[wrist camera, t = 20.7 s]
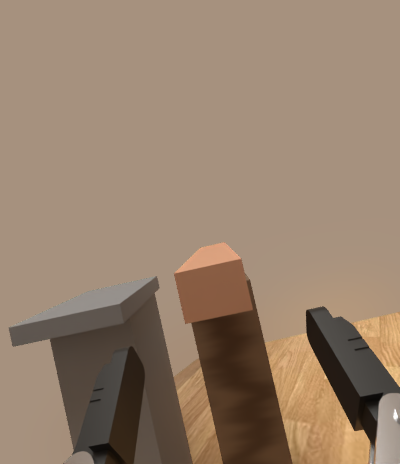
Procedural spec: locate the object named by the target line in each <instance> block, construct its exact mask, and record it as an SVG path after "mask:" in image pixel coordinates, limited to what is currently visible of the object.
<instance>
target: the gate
mask: <svg viewBox="0 0 400 464" xmlns="http://www.w3.org/2000/svg"><path fill="white" fill-rule="evenodd" d="M245 277H246V281H247V286H248V290H249V294H250V299H251V303H252V307H253V310H250V311H245V312H240V313H236V314H231V315H226V316H221V317H216V318H212V319H207V320H202V321H197V322H192V327H193V332H194V336H195V341H196V345H197V350H198V354H199V359H200V363H201V367H202V372H203V376H204V381H205V385H206V389H207V394H208V398H209V403H210V407H211V412H212V416H213V420H214V425H215V429H216V434H217V438H218V443H219V447H220V451H221V456H222V460H223V464H292V459H291V455H290V451H289V446H288V442H287V438H286V433H285V429H284V425H283V421H282V416H281V412H280V408H279V403H278V399H277V395H276V390H275V386H274V382H273V377H272V373H271V369H270V364H269V360H268V356H267V351H266V347H265V343H264V338H263V334H262V330H261V325H260V321H259V317H258V313H257V309H256V304H255V300H254V295H253V291H252V287H251V283H250V279H249V278H248V277H247V275H246V274H245Z"/></svg>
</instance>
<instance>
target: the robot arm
mask: <svg viewBox="0 0 400 464" xmlns="http://www.w3.org/2000/svg"><path fill="white" fill-rule="evenodd" d="M306 327H307V337H308V340H309V343H310V345H311V347H312V349H313V351H314V353H315V355H316V357H317V359H318V361H319V363H320V365H321V367H322V369H323V371H324V373H325V374H326V376H327V378H328V380H329V382H330V384H331V386H332V388H333V390H334V392H335V394H336V396H337V398H338V400H339V402H340V404H341V406H342V407H343V409H344V411H345V413H346V415H347V417H348V419H349V421H350V423H351V425H352V427H353V429H354V431H358V430H364V431H365V433H366V434H367V436H368V438H369V440H370V449H369V462H368V464H400V387H399V386H398V385H397V383H396V382H395V381H394V379H393V378H392V377H391V375H390V374H389V373H388V371H387V370H386V369H385V367H384V366H383V364H382V363H381V362H380V360H379V359H378V358H377V356H376V355H375V354H374V352H373V351H372V350H371V349H370V348H369V346H368V344H367V343H366V342H365V340H364V339H362V336H361V335H360V334H359V332H358V331H357V330H356V328H355V327H354V326H353V325H352V324H351V323H349V322H348V321H347V320H345V319H343V318H342V317H336V318H333V317H332V316H331V314H330V313H329V311H328V310H327V309H326V308H325V307H318V308H314V309H309V310H307V311H306ZM144 383H145V370H144V366H143V364H142V362H141V360H140V358H139V356H138V355H137V353H136V351H135V349H134V348H133V347H132V346H129V347H124V348H120V349H116V350H115V351H114V352H113V355H112V359H111V363H110V364H105V365H104V366H103V368H102V370H101V371H100V373H99V374H98V376H97V378H96V381H95V385H94V388H93V393H92V394H91V398H90V403H89V404H88V408H87V411H86V414H85V417H84V421H83V424H82V427H81V431H80V434H79V437H78V440H77V444H76V447H75V449H74V452H73V454H72V456H70V457H69V458H68V459H67V460H66V461H65V462H64V463H63V464H134V458H135V451H136V443H137V436H138V428H139V420H140V413H141V405H142V398H143V390H144Z"/></svg>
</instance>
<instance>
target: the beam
mask: <svg viewBox="0 0 400 464" xmlns="http://www.w3.org/2000/svg"><path fill="white" fill-rule="evenodd" d="M174 276H175V280H176V285H177V289H178V293H179V298H180V302H181V307H182V311H183V315H184V320H185V324H187V323H192V322H197V321H202V320H207V319H212V318H216V317H221V316H226V315H231V314H236V313H240V312H245V311H250V310H253V307H252V303H251V299H250V294H249V290H248V286H247V281H246V277H245V273H244V268H243V264H242V260H241V258H240V257H239V256H238V255H237V254H236V253H235V252H234V251H233V250H232V249H231V248H230V247H229V246H228V245H227V244H226V243H225V242H223V243H219V244H214V245H210V246H205V247H201V248H200V249H198V251H197V252H195V253H194V254H193V255H192V256H191V257H190V258H189V259H188V261H186V262H185V263H184V264H183V265H182V266H181V267H180V268H179V269H178V270H177V271H176V272H175V273H174Z"/></svg>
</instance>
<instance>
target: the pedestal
mask: <svg viewBox="0 0 400 464" xmlns="http://www.w3.org/2000/svg"><path fill="white" fill-rule="evenodd" d="M158 289H159V284H158V279H157V276H155V277H151V278H146V279H142V280H137V281H133V282H129V283H124V284H120V285H115V286H111V287H106V288H101V289H97V290H92V291H88V292H86V293H83V294H81V295H79V296H77V297H75V298H72V299H70V300H68V301H66V302H64V303H61V304H60V305H57V306H55V307H53V308H51V309H48V310H46V311H44V312H42V313H40V314H38V315H36V316H33V317H31V318H29V319H27V320H24V321H22V322H20V323H18V324H16V325H13V326H11V327H9V331H10V336H11V341H12V346H18V345H23V344H28V343H33V342H37V341H42V340H47V339H50V342H51V347H52V351H53V356H54V361H55V365H56V369H57V374H58V379H59V384H60V388H61V393H62V397H63V402H64V406H65V412H66V416H67V421H68V425H69V430H70V435H71V439H72V444H73V449H75V447H76V444H77V440H78V437H79V434H80V431H81V427H82V424H83V421H84V417H85V414H86V411H87V408H88V404H89V403H90V398H91V394H92V393H93V388H94V385H95V381H96V378H97V376H98V374H99V373H100V371H101V370H102V368H103V366H104V365H105V364H110V363H111V359H112V355H113V352H114V351H115V350H116V349H120V348H124V347H129V346H132V347H133V348H134V349H135V351H136V353H137V355H138V356H139V358H140V360H141V362H142V364H143V366H144V370H145V383H144V390H143V398H142V405H141V413H140V420H139V428H138V436H137V443H136V451H135V458H134V464H193V463H192V458H191V454H190V449H189V445H188V440H187V436H186V431H185V427H184V423H183V418H182V414H181V409H180V405H179V400H178V396H177V391H176V387H175V382H174V378H173V374H172V369H171V365H170V360H169V356H168V351H167V347H166V342H165V338H164V333H163V329H162V325H161V320H160V316H159V311H158V307H157V302H156V298H155V292H156V291H157V290H158Z"/></svg>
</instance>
